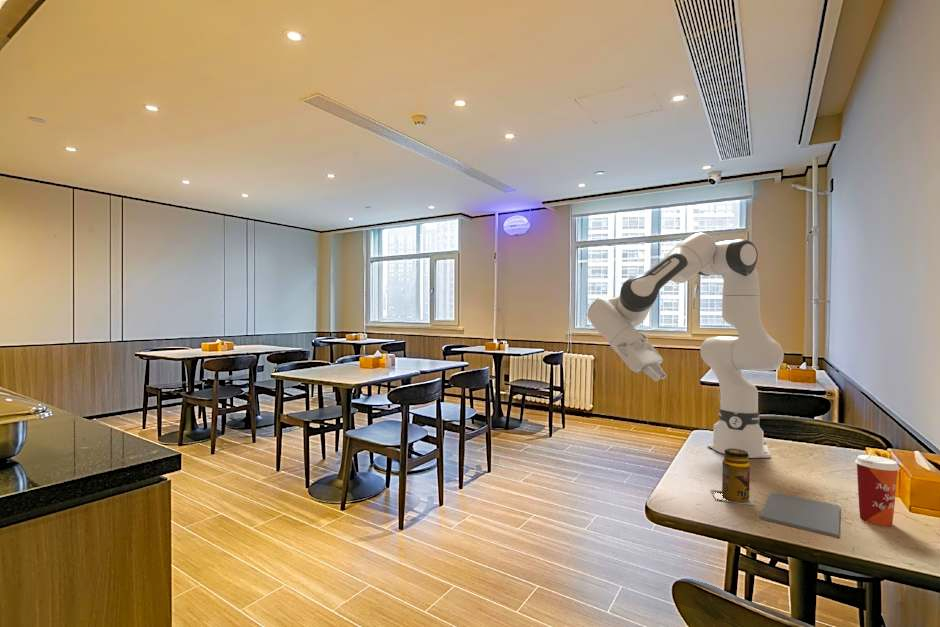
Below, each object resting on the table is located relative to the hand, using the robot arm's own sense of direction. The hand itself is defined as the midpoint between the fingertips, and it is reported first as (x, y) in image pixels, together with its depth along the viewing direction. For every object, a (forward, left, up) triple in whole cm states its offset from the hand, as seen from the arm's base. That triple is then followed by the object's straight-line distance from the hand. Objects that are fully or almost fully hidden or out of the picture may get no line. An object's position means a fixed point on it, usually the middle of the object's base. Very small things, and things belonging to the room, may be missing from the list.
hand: (661, 378), depth 137 cm
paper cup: (0, +47, -28) cm, 55 cm away
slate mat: (+6, +34, -27) cm, 44 cm away
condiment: (+6, +19, -28) cm, 34 cm away
